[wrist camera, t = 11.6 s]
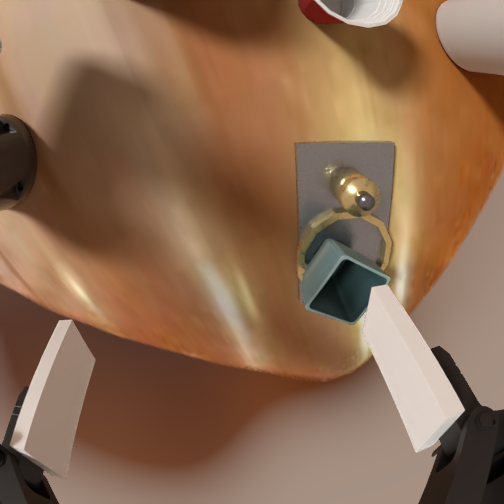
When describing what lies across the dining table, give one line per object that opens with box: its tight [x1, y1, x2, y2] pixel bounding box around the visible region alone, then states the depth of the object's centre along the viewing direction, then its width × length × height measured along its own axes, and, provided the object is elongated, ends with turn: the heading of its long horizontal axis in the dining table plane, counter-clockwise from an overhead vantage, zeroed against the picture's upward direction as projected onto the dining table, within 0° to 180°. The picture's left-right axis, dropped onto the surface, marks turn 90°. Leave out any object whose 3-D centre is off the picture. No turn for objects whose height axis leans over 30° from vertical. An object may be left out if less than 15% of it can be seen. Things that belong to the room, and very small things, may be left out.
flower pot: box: [302, 238, 391, 325], centre depth 41 cm, size 9×9×9 cm
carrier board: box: [295, 141, 394, 302], centre depth 40 cm, size 15×25×8 cm, turn 5°
